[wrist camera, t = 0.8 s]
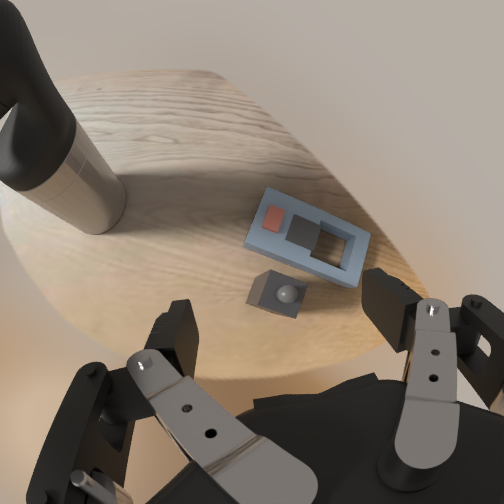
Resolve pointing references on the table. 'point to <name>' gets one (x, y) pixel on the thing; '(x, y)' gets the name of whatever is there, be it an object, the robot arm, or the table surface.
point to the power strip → (305, 237)
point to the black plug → (277, 293)
